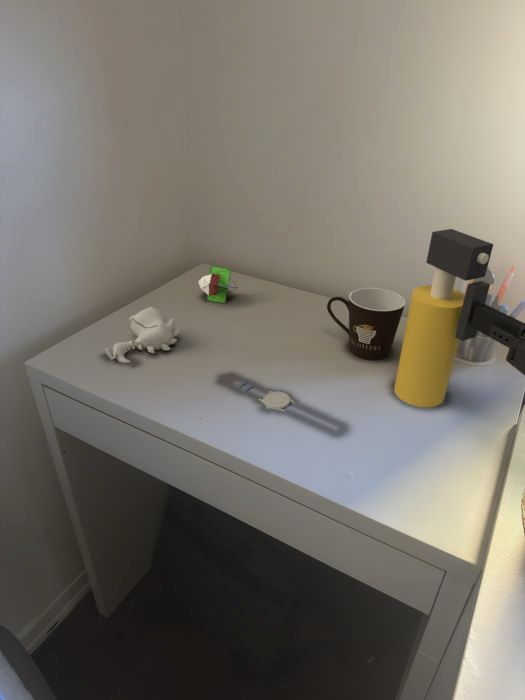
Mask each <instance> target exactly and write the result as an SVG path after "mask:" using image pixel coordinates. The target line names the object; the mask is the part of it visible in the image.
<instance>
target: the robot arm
mask: <svg viewBox="0 0 525 700" xmlns="http://www.w3.org/2000/svg"><path fill="white" fill-rule="evenodd" d="M470 327H472V328H474V329H476V330H478V331H477V332H479V333H481V334H483V335H485V336H487V337H488V338H490V339H492V340H493V341H495V342H497V343H499V344H501V345H503V346H505V347H506V348H508V351H507V354H506V357H505V361H506V362H507V363H508V364H509V365H511V366H512V367H513V368H514V369H516V370H517V371H519V372H520V373H521V374H522V375H523V376H525V322H523V321H521V320H519V319H516V318H515V317H512V316H511V315H508V314H506V313H504V312H503V311H500V310H498V309H496V308H494V307H492V306H489V305H488V304H487V303H485V304H481V305H477V306H475V309H474V313H473V317H472V320H471V324H470Z"/></svg>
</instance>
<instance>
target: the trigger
mask: <svg viewBox="0 0 525 700" xmlns="http://www.w3.org/2000/svg"><path fill="white" fill-rule="evenodd" d="M490 287H491V284H490V283H488V282H486V281H484V280H480V281H479V280H478V281H476V282H475V281H474V282H470V283H467V287H466V289H465V290H466V291H465V293H464V294H465V298H464V302H463V306H462V310H461V314H460V318H459V322H458V326H457V330H456V334H455V337H456V338H457V339H459V341H460V342H464V341H467V340H472V339H475V338H477V335H478V332H479V331H478V330H476V329H474V328H472V327H470V324H471V320H472V317H473V313H474V309H475V306H477V305H481V304H486V301H487V298H488V295H489V291H490Z"/></svg>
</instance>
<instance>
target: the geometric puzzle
mask: <svg viewBox="0 0 525 700" xmlns="http://www.w3.org/2000/svg"><path fill="white" fill-rule="evenodd" d="M209 269H210V270H209ZM209 269H208V270H207V271H209V274H207V275H202V276H201V278H200V279H199V280H198V281H197V283H198V286H199V288H200V290H201V291H202V292H203V293H204V294H206V298H205V300H206V301H212V302H216V303H220V304H224V305H226V303H227V301H228V300H229V299H227V298H228V294H229V293H230V292H233V291H236V290H238V289H239V287H238V284H237V283H236V282H234V281H232V283H233V284H234V285H235V286H232V285H229V284H230V282H231V276H230V275H231V274H233V273H232V271H231V268H225V267H219V266H213V265H210V268H209ZM230 289H232V290H230ZM229 290H230V291H229ZM232 295H233V294H231V296H230V297H232Z"/></svg>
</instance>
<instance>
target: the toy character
mask: <svg viewBox="0 0 525 700" xmlns="http://www.w3.org/2000/svg"><path fill="white" fill-rule="evenodd" d="M128 321H129V322H130V327H129V329H131V331H132V332H133V334H135V335H136V336H137V337H136V339H134V338H133V335H132V334H131V333H130V332H127V333H126V335H128V336H129V337H130V338H131V340H128V341H121V342H117V343H115V344H114V345H113V346H112V352H110V350H109V348H108V347H106V348H104V350H105V355H107V357H108V358H109V360H111V361H113V360H114V359H115V360H116V361H117V362H119V363H124V364H125V363H131V360H129V358H126V356H125V354H126V353H127V352H128V350H129V351H130V350H131V349H133V350H135V348H136V347H137V348H138V349H139V350H140V351H142V350H143V348H144V349H147V351H148V352H149V353H151V354H155V351H171V347H170V345H173V344H175V343H176V342H177V341H178V339H177V338H175V337H176V336H178V335H179V334H180V333H181V329H179V328H176V321H175V319H174V318H170V319H169V320H168V322H167V318H166V316H165V314H164V312H163V311H161V310H160V309H158V308H155V307H154V306H149V307H146V308H144V309H142V310H140V311H138V312H137V313H136V314H134V315H133V314H132V315H131V316H130V317H129V319H128Z"/></svg>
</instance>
